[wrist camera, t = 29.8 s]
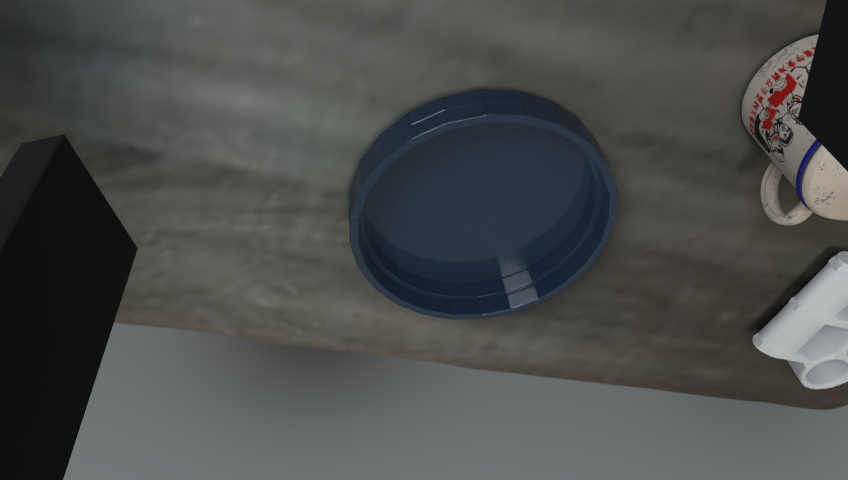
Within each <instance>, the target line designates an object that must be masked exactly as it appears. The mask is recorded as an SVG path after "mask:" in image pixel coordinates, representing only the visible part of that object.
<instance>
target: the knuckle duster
mask: <svg viewBox="0 0 848 480" xmlns="http://www.w3.org/2000/svg"><path fill="white" fill-rule="evenodd" d="M828 262H829V263H828V264H826V265H825V266H824V267H823V268H822V269H821V270H820V271H819V272H818V273H817V274H816V275H815V276H814V277H813V278H812V279H811V280H810V281H809V282H808V283H807V284H806V285H805V286H804V287H803V288H802V289H801V290H800V291H799V292H798V293H797V294H796V295H795V296H794V297H792V298H791V299H790V300H789V302H788V303H787V304H786V306H785V307H784V308H783V309H782V310H781V311H780V312H779V313H778V314H777V315H776V316H775V317H774V318H773V319H772V320H771V321H770V322H769V323H768V324H767V325H766V326H765V327H764V328H763V329H762V330H761V331H760V332H758V333H757V334H756V335H755V336H754V337H753V339H752V341H753V344H754V345H755V347H756V348H757V349H759V350H760V351H762V352H763V353H765V354H767V355H769V356H772V357H774V358H778V359H785V360H787V361H788V363H789V364H790V366H791V368H792V369H793V371H794V372H795V374H796V376H797V377H798V379H799V380H800V382H801V383H802V384H803V385H804V386H806V387H808V388H811V389H826V388H831V387H834V386H838V385H840V384H843V383H845V382H847V381H848V252H847V251H842V252H839V253H838V254H836V255H835V256H833V257H832V258H831V259H830V260H829V261H828Z"/></svg>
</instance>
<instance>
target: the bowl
mask: <svg viewBox="0 0 848 480" xmlns="http://www.w3.org/2000/svg"><path fill="white" fill-rule="evenodd" d="M616 211H617V189H616V186H615V183H614V180H613V177H612V174H611V171H610V168H609V165H608V163H607V161H606V159H605V157H604V156H603V154H602V152H601V150H600V148H599V146H598V144H597V142H596V140H595V139H594V138H593V136H592V135H591V134H590V133H589V131H588V130H587V129H586V128H585V126H584V125H583V124H582V123H581V121H580V120H579V119H578V118H577V117H575V116H574V115H572V114H571V113H569V112H568V111H566V110H564V109H563V108H561V107H560V106H558V105H557V104H555V103H554V102H552V101H550V100H546V99H543V98H540V97H536V96H533V95H529V94H526V93H523V92H519V91H501V90H477V91H472V92H467V93H463V94H458V95H453V96H448V97H443V98H440V99H438V100H436V101H434V102H431V103H429V104H427V105H425V106H423V107H420V108H418V109H416V110H414V111H412V112H409V113H408V114H406V115H405V116H404V117H402V118H401V119H400V120H399V121H397V122H396V123H395V124H394V125H392V126H391V127H390V128H389V129H387V130H386V131H385V132H383V133H382V134H381V135H380V136H379V137H378V138H377V139H376V141H375V142H374V143H373V145H372V146H371V147H370V149H369V150H368V151H367V153H366V154H365V155H364V157H363V158H362V159H361V161H360V163H359V166H358V168H357V171H356V174H355V177H354V179H353V182H352V185H351V188H350V204H349V227H350V245H351V248H352V251H353V254H354V257H355V260H356V263H357V265H358V267H359V269H360V270H361V272H362V273H363V274H364V276H365V277H366V278H367V279H368V281H369V282H370V283H371V285H372V286H373V287H374V288H375V289H376V290H377V291H379V292H380V293H382V294H383V295H384V296H386V297H387V298H389V299H390V300H391V301H393V302H394V303H396V304H397V305H400V306H402V307H405V308H407V309H410V310H412V311H415V312H417V313H420V314H423V315H429V316H435V317H440V318H446V319H485V318H490V317H495V316H501V315H506V314H511V313H514V312H517V311H520V310H523V309H525V308H528V307H531V306H533V305H536V304H539V303H541V302H543V301H545V300H547V299H548V298H550V297H552V296H553V295H555V294H557V293H559V292H560V291H562V290H564V289H565V288H567V287H568V286H569V285H571V284H572V283H573V282H574V281H575V280H576V279H577V278H578V277H580V276H581V275H582V274H583V273H584V272H585V271H586V270H587V269H589V268H590V267H591V265H592V264H593V262H594V261H595V260H596V258H597V257H598V255H599V254H600V253H601V251H602V250H603V248H604V247H605V246H606V244H607V242H608V239H609V236H610V234H611V231H612V228H613V226H614V223H615V220H616Z"/></svg>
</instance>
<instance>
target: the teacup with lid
mask: <svg viewBox="0 0 848 480" xmlns="http://www.w3.org/2000/svg"><path fill="white" fill-rule="evenodd" d="M818 35H819V34H817V35H813V36H809V37H806V38H803V39H801V40H799V41H796V42H794V43H792V44H790V45H788V46H787V47H785V48H783V49H782V50H781V51H779V52H778V53H776V54H775V55H774V56H773V57H771V58H770V59H769V60H768V61H767V62H766V63H765V64H764V65H763V66H762V67H761V68H760V69H759V71H758V72H757V73H756V74H755V76H754V77H753V79H752V80H751V82H750V84H749V86H748V88H747V90H746V92H745V95H744V98H743V102H742V120H743V123H744V126H745V128H746V129H747V131H748V132H749V134H750V135H751V136H752V137H753V138H754V140H755V141H756V142H757V143H758V144H759V146H760V147H761V148H762V149H763V150H764V152H765V153H766V154H767V155H768V156H769V158H770V159H771V160H772V162H771V163H770V165H769V166H768V168H767V170H766V172H765V174H764V176H763V179H762V183H761V201H762V205H763V208H764V210H765V212H766V214H767V215H768V217H769V218H770V219H771V220H772V221H774V222H775V223H778V224H781V225H795V224H798V223H801V222H803V221H804V220H806V219H807V218H808V217H809V216H810V215H811V214H812V213H813V212H814V213H816V214H818V215H820V216H822V217H826V218H829V219H835V220H848V172H847V171H846V169H845V168H844V167H843V166H842V165H841V164H840V163H839V162H838V161H837V160H836V159H835V158H834V157H833V156H832V155H831V154H830V153H829V152H828V151H827V149H826V148H825V147H824V146H823V145H822V144H821V143H820V142H819V141H818V140H817V139H816V138H815V137H814V136H813V135H812V134H811V133H810V132H809V131H808V130H807V128H806V127H805V126H804V125H803V124H802V123H801V122H800V121H799V120H798V115H799V111H800V107H801V103H802V99H803V95H804V91H805V87H806V83H807V79H808V75H809V71H810V67H811V63H812V59H813V55H814V51H815V47H816V43H817V39H818ZM783 174H784V175H785V177H786V178H787V179H788V180H789V181H790V183H791V184H792V185H793V186H794V187H795V189H796V191H797V195H798V197H799V199H800V201H799V202H798V204H797V205H796V206H795V207H794V208H793V209H792V210H791V211H790V212H788V213H786V214H785V213H784V212H783V210H782V208H781V206H780V203H779V199H778V186H779V182H780V180H781V177H782V176H783Z"/></svg>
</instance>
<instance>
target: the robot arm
mask: <svg viewBox="0 0 848 480" xmlns="http://www.w3.org/2000/svg"><path fill="white" fill-rule="evenodd" d="M798 120H799V121H800V122H801V123H802V124H803V125H804V126H805V127H806V128H807V130H808V131H809V132H810V133H811V134H812V135H813V136H814V137H815V138H816V139H817V140H818V141H819V142H820V143H821V144H822V145H823V146H824V147H825V148H826V149H827V151H828V152H829V153H830V154H831V155H832V156H833V157H834V158H835V159H836V160H837V161H838V162H839V163H840V164H841V165H842V166H843V167H844V168H845V169H846V171H847V172H848V0H827V3H826V7H825V11H824V15H823V19H822V23H821V27H820V31H819V35H818V39H817V43H816V47H815V51H814V55H813V59H812V63H811V67H810V71H809V75H808V79H807V83H806V87H805V91H804V95H803V99H802V103H801V107H800V111H799V115H798ZM137 249H138V248H137V247H136V245H135V244H134V242H133V241H132V239H131V237H130V236H129V234H128V233H127V231H126V230H125V228H124V227H123V225H122V223H121V222H120V220H119V219H118V217H117V216H116V214H115V213H114V211H113V209H112V208H111V206H110V205H109V203H108V202H107V200H106V199H105V197H104V196H103V194H102V192H101V191H100V189H99V188H98V186H97V185H96V183H95V182H94V180H93V178H92V177H91V175H90V174H89V172H88V171H87V169H86V168H85V166H84V164H83V163H82V161H81V160H80V158H79V157H78V155H77V154H76V152H75V150H74V149H73V147H72V146H71V144H70V143H69V141H68V140H67V138H66V136H65V135H60V136H55V137H51V138H46V139H41V140H36V141H31V142H26V143H22V144H21V146H20V147H19V149H18V150H17V152H16V154H15V155H14V157H13V158H12V160H11V162H10V163H9V165H8V167H7V168H6V170H5V171H4V173H3V175H2V176H1V178H0V480H63V478H64V475H65V472H66V469H67V466H68V463H69V459H70V456H71V453H72V450H73V447H74V444H75V440H76V438H77V434H78V432H79V428H80V425H81V422H82V419H83V416H84V413H85V410H86V407H87V404H88V400H89V397H90V394H91V391H92V388H93V385H94V382H95V379H96V376H97V373H98V369H99V367H100V364H101V360H102V357H103V354H104V351H105V348H106V345H107V342H108V339H109V335H110V332H111V329H112V326H113V323H114V320H115V317H116V314H117V311H118V308H119V305H120V302H121V299H122V295H123V292H124V289H125V286H126V283H127V280H128V277H129V274H130V271H131V268H132V264H133V261H134V258H135V255H136V252H137Z"/></svg>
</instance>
